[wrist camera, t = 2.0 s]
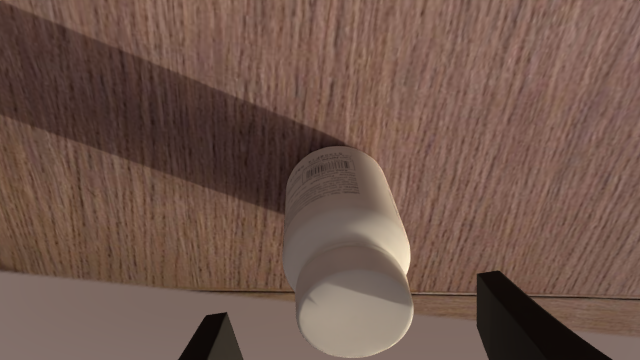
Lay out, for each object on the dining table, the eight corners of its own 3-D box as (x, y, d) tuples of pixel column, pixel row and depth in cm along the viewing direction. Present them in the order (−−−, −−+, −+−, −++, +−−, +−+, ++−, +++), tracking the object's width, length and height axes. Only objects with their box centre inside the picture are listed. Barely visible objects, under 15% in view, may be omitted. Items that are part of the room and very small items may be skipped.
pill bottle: (267, 203, 20) (251, 337, 13) (321, 124, 18) (335, 231, 12) (348, 245, 21) (371, 388, 15) (405, 175, 20) (462, 299, 13)
